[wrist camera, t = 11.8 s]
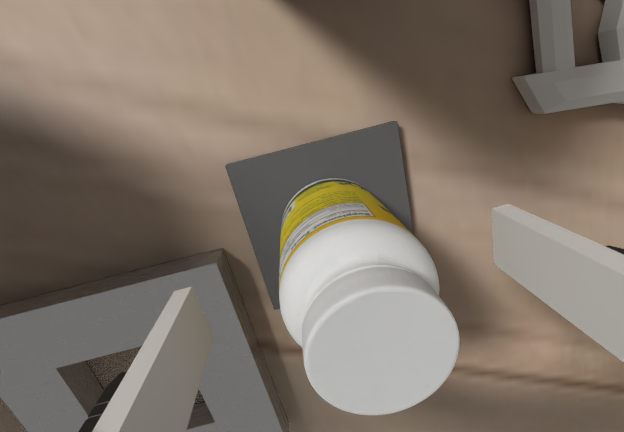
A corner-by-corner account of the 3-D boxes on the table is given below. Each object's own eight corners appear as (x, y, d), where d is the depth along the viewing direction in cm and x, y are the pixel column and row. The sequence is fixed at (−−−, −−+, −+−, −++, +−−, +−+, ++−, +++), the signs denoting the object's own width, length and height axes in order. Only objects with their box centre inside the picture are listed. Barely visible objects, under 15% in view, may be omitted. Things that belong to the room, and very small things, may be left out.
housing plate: (96, 471, 26) (82, 500, 24) (-21, 311, 20) (-52, 332, 18) (288, 421, 26) (288, 447, 24) (222, 248, 20) (216, 262, 18)
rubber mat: (274, 304, 22) (274, 309, 21) (227, 164, 18) (225, 166, 18) (415, 268, 22) (418, 272, 21) (393, 120, 18) (397, 121, 18)
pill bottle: (388, 253, 21) (495, 405, 10) (297, 280, 21) (310, 456, 10) (369, 162, 19) (478, 235, 8) (267, 191, 19) (246, 301, 8)
